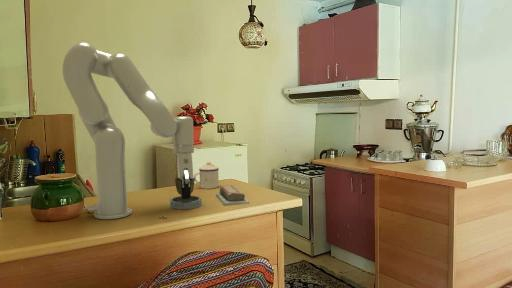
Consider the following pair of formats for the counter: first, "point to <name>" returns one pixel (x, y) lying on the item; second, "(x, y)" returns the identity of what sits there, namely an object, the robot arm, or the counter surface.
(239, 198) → the packaged product
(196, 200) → the blue-grey plate
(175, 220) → the counter surface
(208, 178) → the teacup with lid
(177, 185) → the dark rounded textured piece
